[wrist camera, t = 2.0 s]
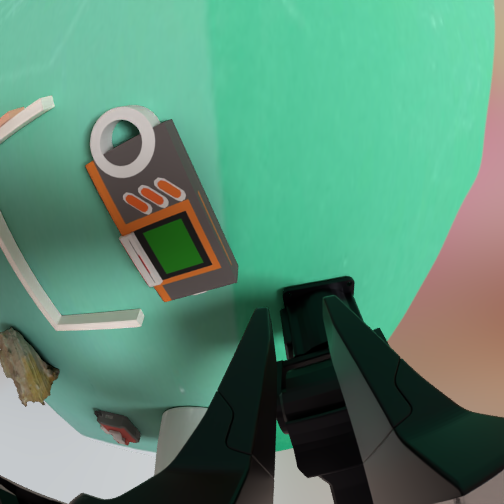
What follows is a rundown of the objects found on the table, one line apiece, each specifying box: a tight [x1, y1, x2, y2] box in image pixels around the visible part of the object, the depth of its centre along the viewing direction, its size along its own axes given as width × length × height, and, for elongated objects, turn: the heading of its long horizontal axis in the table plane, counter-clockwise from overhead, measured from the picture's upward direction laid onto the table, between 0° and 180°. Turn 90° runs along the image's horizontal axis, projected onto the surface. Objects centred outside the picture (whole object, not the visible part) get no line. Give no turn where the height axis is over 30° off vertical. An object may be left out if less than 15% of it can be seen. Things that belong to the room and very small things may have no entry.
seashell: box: [0, 327, 60, 407], centre depth 28 cm, size 11×14×10 cm
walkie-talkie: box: [94, 410, 141, 445], centre depth 46 cm, size 9×4×20 cm
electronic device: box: [85, 105, 238, 302], centre depth 19 cm, size 7×3×15 cm
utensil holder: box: [154, 407, 208, 476], centre depth 35 cm, size 15×15×18 cm
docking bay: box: [0, 95, 144, 331], centre depth 20 cm, size 12×23×2 cm, turn 10°
